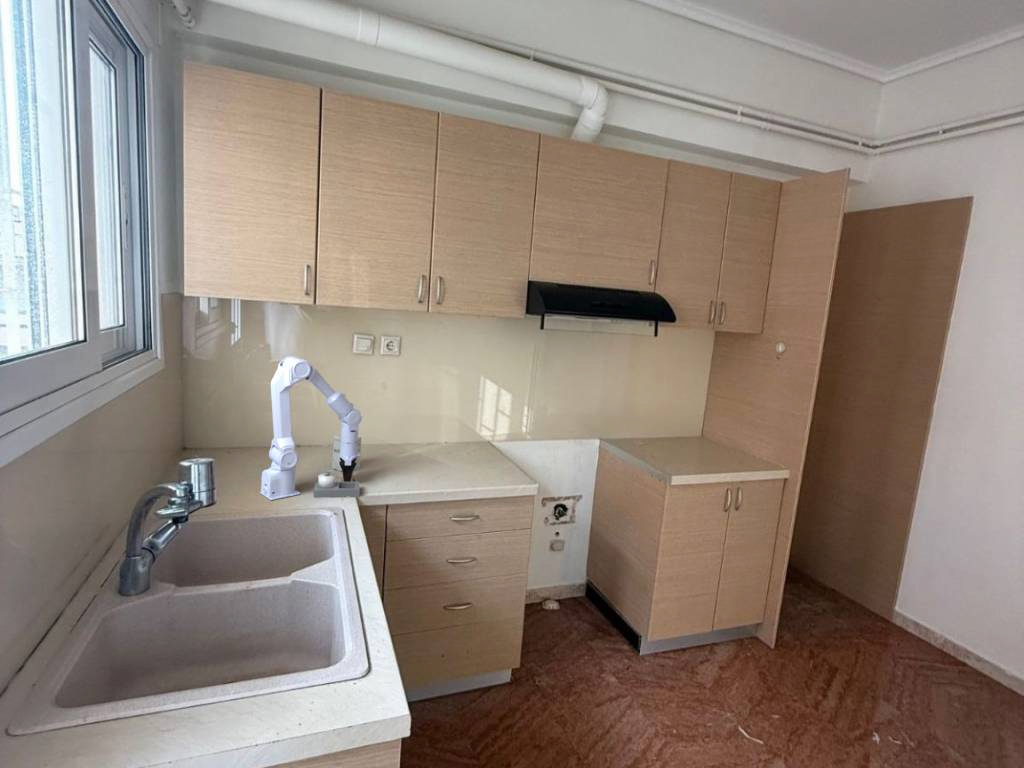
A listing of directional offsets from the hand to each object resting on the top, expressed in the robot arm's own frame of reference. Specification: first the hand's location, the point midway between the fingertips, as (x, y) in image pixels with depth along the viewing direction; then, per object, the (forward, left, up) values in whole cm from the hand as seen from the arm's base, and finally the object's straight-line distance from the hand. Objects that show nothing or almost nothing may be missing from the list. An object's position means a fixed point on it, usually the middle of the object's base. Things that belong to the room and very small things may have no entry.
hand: (347, 479), depth 181 cm
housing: (-8, -6, -1) cm, 10 cm away
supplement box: (+8, +15, -2) cm, 17 cm away
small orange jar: (0, 0, -1) cm, 1 cm away
